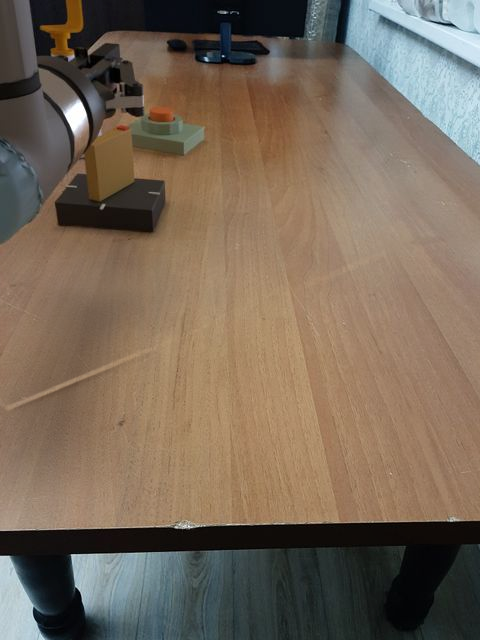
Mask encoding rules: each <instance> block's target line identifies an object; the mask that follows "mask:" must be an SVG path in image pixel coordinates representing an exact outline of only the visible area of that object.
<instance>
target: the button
mask: <svg viewBox="0 0 480 640" xmlns="http://www.w3.org/2000/svg"><path fill="white" fill-rule="evenodd" d="M149 113H150V120H152V121H155V122H171V121H174V109H172V108H170V107H166V106H154V107H150V108H149Z"/></svg>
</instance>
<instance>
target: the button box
mask: <svg viewBox="0 0 480 640" xmlns="http://www.w3.org/2000/svg"><path fill="white" fill-rule="evenodd" d="M144 114H145V115H144V116H141V117H139V118H138V119H136V120H134V121H133V122H131V123H129V124H128V125H126V126H127V127H129V129H131V134H132V148H137V149H143V150H150V151H155V152H161V153H165V154H172V155H179V156H185V155H186V154H188V153H189V152H190V151H191V150H192V149H194V148H195V147H196V146H198V145H199V144H200V143H201V142H203V140H205V126H202V125H195V124H189V123H184V121H183V118H182V116H180V115H177V114H176V113H175V114H174V113H173V114H174V121H171V122H155V121H152V120H150V112H149V113H144Z"/></svg>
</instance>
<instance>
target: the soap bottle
mask: <svg viewBox="0 0 480 640" xmlns="http://www.w3.org/2000/svg"><path fill="white" fill-rule="evenodd" d="M65 4H66V13H67V21H66V22H65V24H52V25H51V24H49V25H48V24H47V25H46V24H45V25H40V26H39V29H40V31H43V32H46V33H49V34H50V38H51V39H54V43H55V47H52V48H50V56H53V57H55V56H59V55H64V56H67V57H68V61H70V60H72V59H73V58H75V57H76V56H75V49H73V48H69V47H68V40H69V39H71V34H73V33H80V32H81V31H82V30H83V29H84V16H83V7H82V6H83V5H82V0H65ZM100 135H102V128H101V129H100V132H99V134H98V136H100ZM98 136H97V137H98ZM80 159H85V158H84V154H83V155H82V156H81V157H80Z"/></svg>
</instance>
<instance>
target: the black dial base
mask: <svg viewBox="0 0 480 640" xmlns="http://www.w3.org/2000/svg"><path fill="white" fill-rule="evenodd" d="M165 203H166V181H165V180H162V179H151V178H149V179H148V178H139V177H134V182H133V183H131V184H130V185H128V186H126V187H125V188H123V189H121V190H119V191H118V192H116V193H114V194H112V195H111V196H109V197H107V198H105V199H104V200H102V201H100V202H98V201H94V200H91V199H89V193H88V184H87V175H86V173H77V174H76V175H75V176H74V177H73V178H72V180H71V181H70V182H69V184H68V185H67V184H66V185H65V189H64V190H63V191H62V193H61V194H60V195H59V196H58V198H57V199H56V200H55V201H54V206H55V213H56V220H57V225H58V226H59V225H60V226H71V227H83V228H84V227H87V228H98V229H109V230H123V231H134V232H148V233H154V230H155V228H156V225H157V224H158V221H159V218H160V216H161V213H162V211H163V208H164V205H165Z"/></svg>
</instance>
